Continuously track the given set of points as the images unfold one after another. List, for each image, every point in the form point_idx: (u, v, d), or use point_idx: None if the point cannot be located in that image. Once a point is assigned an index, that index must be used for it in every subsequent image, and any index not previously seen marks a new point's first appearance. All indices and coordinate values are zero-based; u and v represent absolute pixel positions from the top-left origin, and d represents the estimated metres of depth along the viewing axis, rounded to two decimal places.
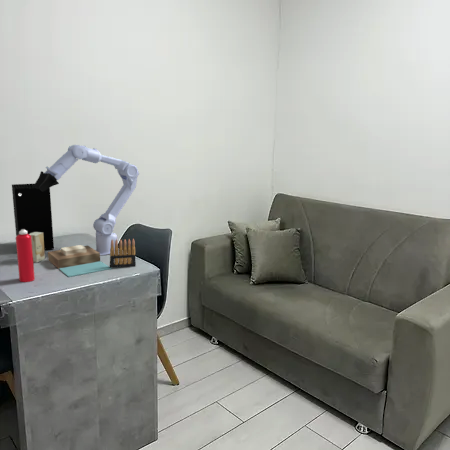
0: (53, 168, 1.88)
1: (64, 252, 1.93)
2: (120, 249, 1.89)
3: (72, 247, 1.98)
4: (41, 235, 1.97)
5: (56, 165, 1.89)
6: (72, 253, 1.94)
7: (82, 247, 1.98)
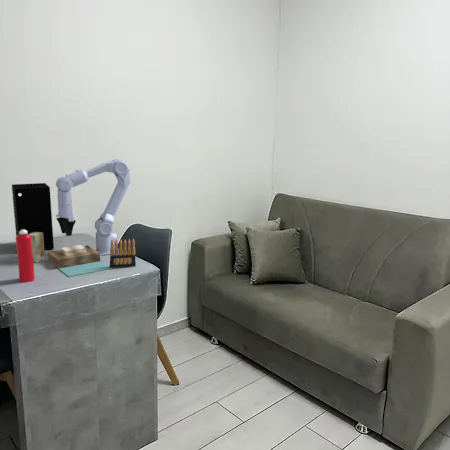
0: (61, 213, 1.97)
1: (64, 252, 1.93)
2: (120, 249, 1.89)
3: (72, 247, 1.98)
4: (41, 235, 1.97)
5: (61, 209, 1.97)
6: (72, 253, 1.94)
7: (82, 247, 1.98)
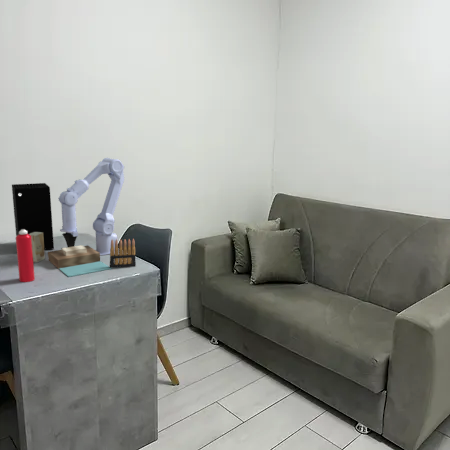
0: (66, 228, 1.95)
1: (64, 252, 1.93)
2: (120, 249, 1.89)
3: (72, 247, 1.97)
4: (41, 235, 1.97)
5: (65, 224, 1.94)
6: (73, 254, 1.94)
7: (82, 247, 1.97)
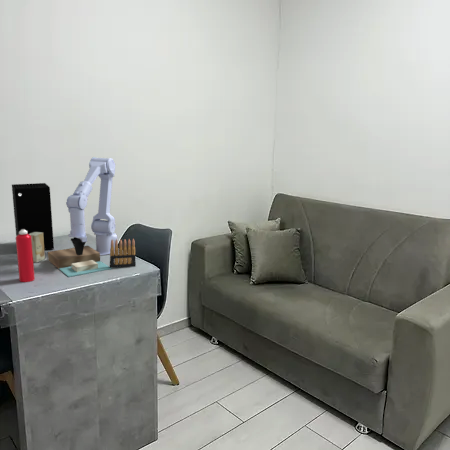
0: (74, 233, 1.87)
1: (72, 267, 1.86)
2: (120, 249, 1.89)
3: None
4: (41, 235, 1.97)
5: (74, 228, 1.86)
6: None
7: None
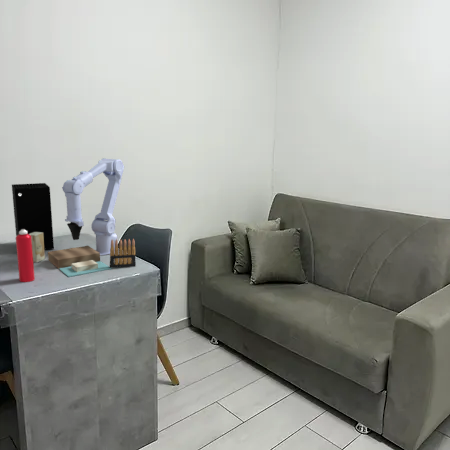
0: (71, 217, 1.89)
1: (72, 267, 1.86)
2: (120, 249, 1.89)
3: None
4: (41, 235, 1.97)
5: (70, 213, 1.89)
6: None
7: None
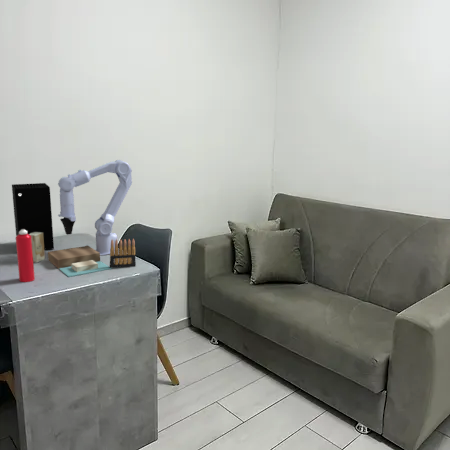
0: (64, 213, 1.98)
1: (72, 267, 1.86)
2: (120, 249, 1.89)
3: None
4: (41, 235, 1.97)
5: (63, 209, 1.97)
6: None
7: None
